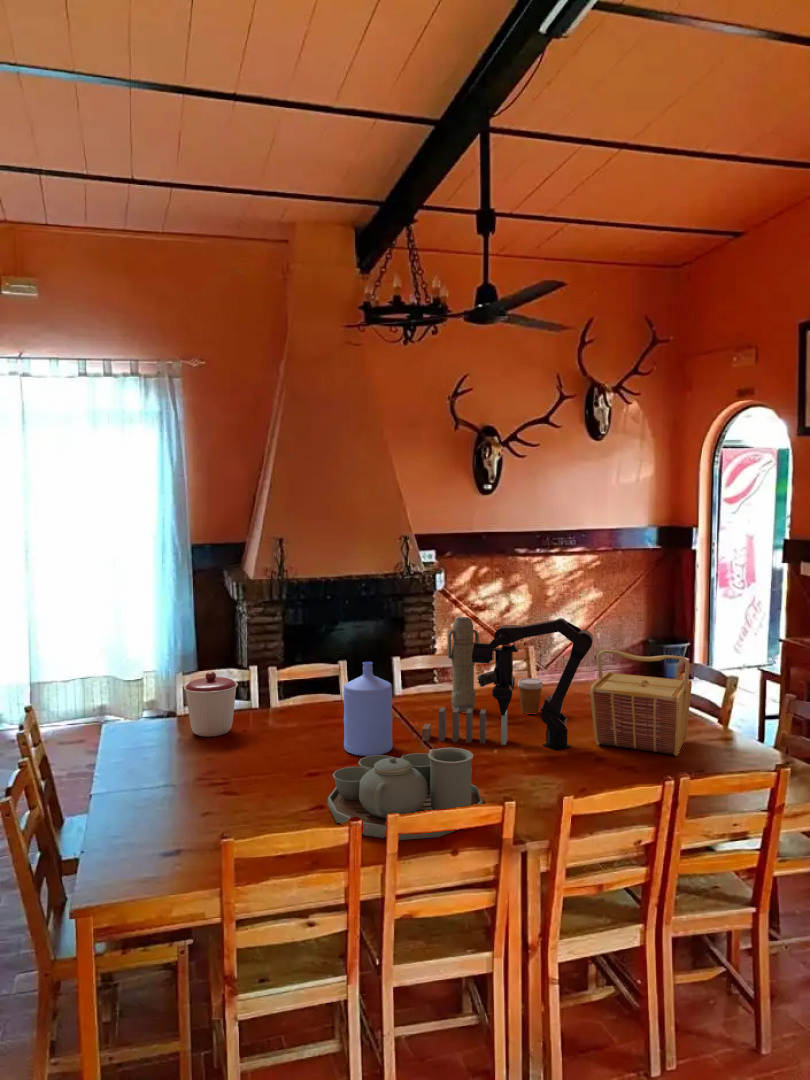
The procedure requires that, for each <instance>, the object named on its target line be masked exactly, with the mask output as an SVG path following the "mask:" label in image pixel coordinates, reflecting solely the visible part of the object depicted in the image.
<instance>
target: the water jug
mask: <svg viewBox="0 0 810 1080" xmlns="http://www.w3.org/2000/svg"><path fill="white" fill-rule="evenodd" d="M373 664H374V663H373V661H363V662H362V665H363V666H362V674H361V675H360V676H357V677H356V678H354V679H352V680H350V681H348V682H346V683H344V685H343V694H342V695H343V696H342V697H343V708H344V709H343V710H344V711H343V712H344V713H343V725H344V727H343V728H344V730H343V733H344V736H343V737H344V739H343V749H344V750H345V751H346V752H347V753H349V754H350V753H351V755H353V754H354V755H355V756H358V755H359V756H360V757H367V756H374V755H384V754H386V753H389V752H390V751H391V750H392V749H393V746H394V742H393V740H394V739H393V718H394V717H393V685H392V683H391V682H389V681H388V680H385V679H383V678H380V677H379V676H377V675H376V676H375V674H374V673H373V668H374V667H373ZM359 756H358V757H359Z"/></svg>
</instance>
